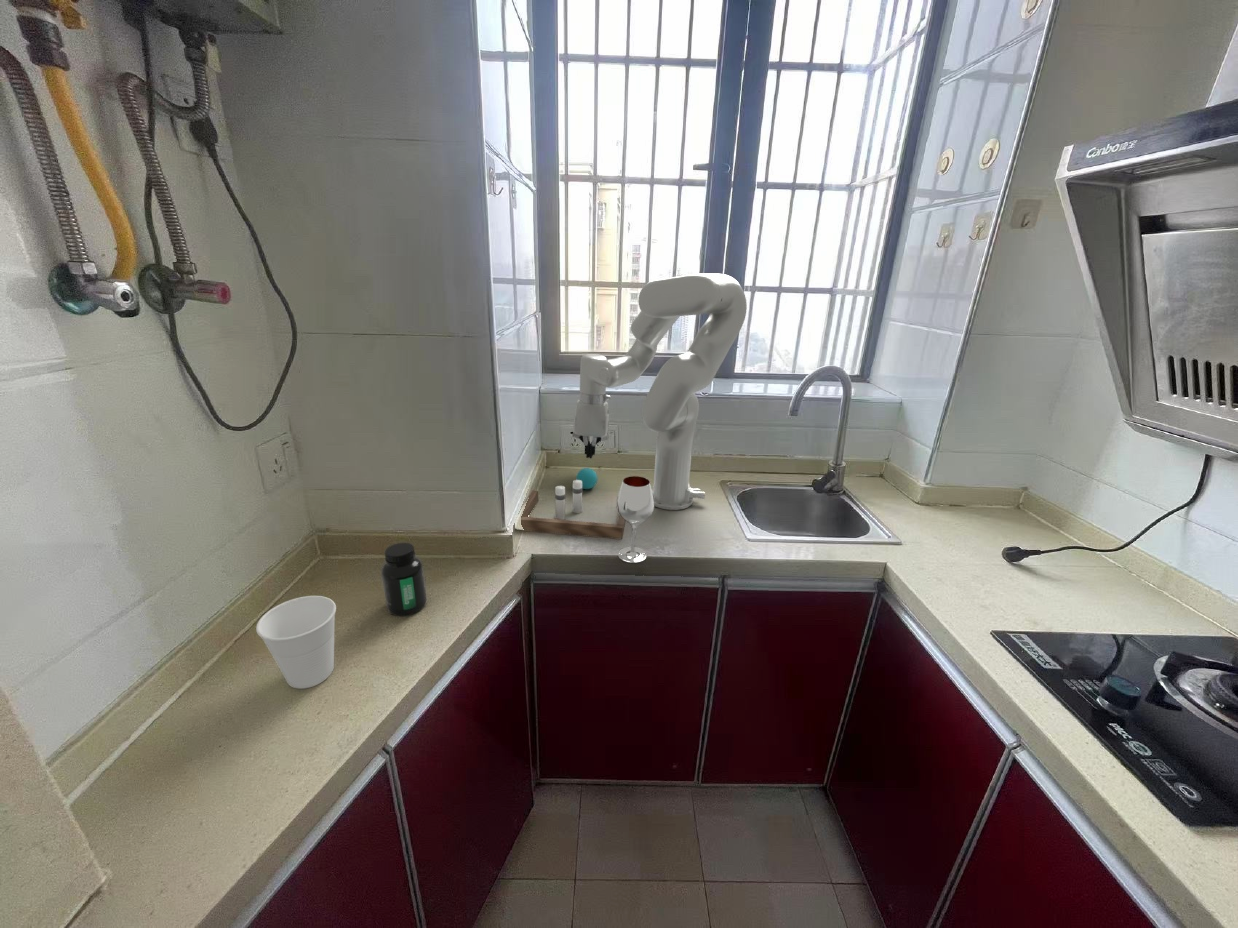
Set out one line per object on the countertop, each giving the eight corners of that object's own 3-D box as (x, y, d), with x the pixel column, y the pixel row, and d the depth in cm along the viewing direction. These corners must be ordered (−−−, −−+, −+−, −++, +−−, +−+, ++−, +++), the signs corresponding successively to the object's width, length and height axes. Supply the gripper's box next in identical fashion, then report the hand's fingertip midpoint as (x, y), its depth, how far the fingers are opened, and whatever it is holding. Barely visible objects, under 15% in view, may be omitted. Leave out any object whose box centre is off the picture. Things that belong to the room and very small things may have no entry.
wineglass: (634, 542, 117) (638, 471, 110) (658, 557, 111) (663, 483, 105) (606, 553, 112) (609, 479, 105) (630, 569, 106) (634, 492, 100)
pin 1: (566, 516, 128) (566, 486, 125) (564, 521, 125) (564, 490, 122) (556, 515, 128) (556, 485, 125) (554, 520, 126) (554, 489, 122)
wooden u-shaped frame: (628, 507, 134) (628, 497, 132) (622, 539, 118) (622, 527, 117) (533, 500, 136) (532, 490, 135) (514, 530, 120) (514, 518, 119)
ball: (598, 484, 147) (598, 465, 145) (595, 493, 141) (595, 473, 139) (578, 483, 147) (578, 464, 145) (574, 491, 142) (574, 472, 140)
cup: (295, 652, 81) (280, 595, 77) (358, 650, 81) (347, 594, 77) (258, 701, 72) (239, 640, 67) (330, 699, 72) (315, 639, 68)
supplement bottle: (419, 617, 90) (411, 560, 85) (381, 616, 89) (371, 559, 85) (432, 594, 96) (425, 539, 92) (396, 593, 96) (387, 539, 91)
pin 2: (582, 509, 132) (583, 480, 128) (581, 514, 129) (581, 483, 126) (573, 508, 132) (573, 479, 129) (571, 513, 129) (571, 483, 126)
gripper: (619, 396, 147) (615, 454, 154) (569, 392, 148) (567, 449, 155) (616, 403, 140) (612, 463, 148) (564, 398, 142) (562, 458, 149)
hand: (589, 456), depth 151 cm, fingers closed
